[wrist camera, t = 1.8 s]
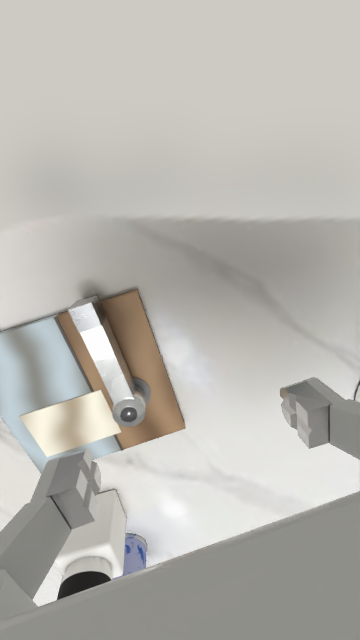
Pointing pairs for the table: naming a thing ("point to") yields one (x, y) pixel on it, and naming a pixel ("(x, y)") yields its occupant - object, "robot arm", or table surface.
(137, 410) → the swing bar
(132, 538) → the aerosol can
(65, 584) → the medicine bottle
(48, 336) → the door board
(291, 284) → the table surface
